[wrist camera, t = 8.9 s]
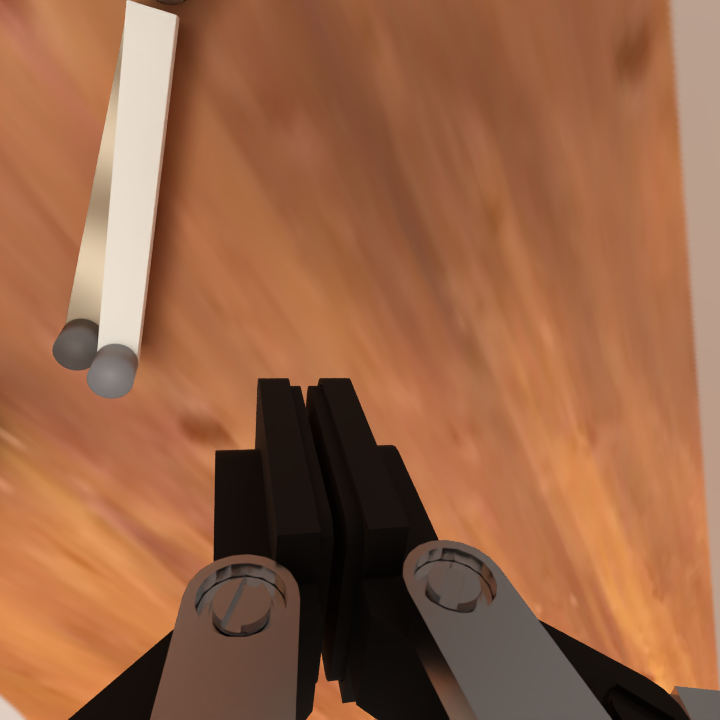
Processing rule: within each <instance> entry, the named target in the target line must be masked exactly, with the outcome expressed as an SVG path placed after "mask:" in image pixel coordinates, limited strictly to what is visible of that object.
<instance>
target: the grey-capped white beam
mask: <svg viewBox="0 0 720 720" xmlns="http://www.w3.org/2000/svg"><path fill="white" fill-rule="evenodd" d="M129 1H130V0H129ZM156 1H158V2H161V3H163V4H170V5H174V4H179V3H182V2H184V1H186V0H156ZM132 2H133V1H132ZM124 27H125V24H124ZM123 39H124V29H123V35H122V40H121V45H120V50H119V55H118V60H117V65H116V70H115V75H114V80H113V85H112V91H111V96H110V101H109V106H108V111H107V116H106V121H105V126H104V131H103V136H102V141H101V147H100V152H99V157H98V162H97V167H96V172H95V177H94V182H93V187H92V192H91V197H90V202H89V208H88V213H87V218H86V223H85V228H84V233H83V238H82V243H81V248H80V253H79V258H78V264H77V269H76V274H75V279H74V284H73V289H72V294H71V299H70V304H69V309H68V314H67V320H66V325H65V326H64V328H63V329H62V331H61V333H60V334H59V336H58V338H57V339H56V341H55V343H54V345H53V355H54V357H55V359H56V360H57V362H58V363H59V364H60V365H62V366H63V367H65V368H67V369H71V370H84V369H87V368H89V367H91V364H92V362H93V360H94V357H95V355H96V353H97V348H98V337H99V325H100V313H101V301H102V289H103V277H104V265H105V253H106V241H107V229H108V217H109V206H110V194H111V182H112V170H113V158H114V146H115V134H116V122H117V110H118V98H119V86H120V75H121V63H122V51H123Z"/></svg>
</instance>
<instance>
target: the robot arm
mask: <svg viewBox="0 0 720 720" xmlns="http://www.w3.org/2000/svg"><path fill="white" fill-rule="evenodd" d="M321 653H322V659H323V665H324V671H325V676H326V679H327V681H335V680H338V682H339V687H340V692H341V698H342V703H348V702H355V701H356V705H357V706H359V707H360V708H362V709H363V710H364V711H366V712H367V713H369V714H370V715H371V716H373V717H374V718H375V719H374V720H720V691H717V690H707V689H697V688H688V687H678V686H675V687H674V689H673V691H672V693H671V694H668V693H667V692H666V691H665V690H664V689H663V688H661V687H660V686H658V685H657V684H655V683H654V682H652V681H651V680H649V679H648V678H646V677H645V676H643V675H641V674H639V673H637V672H635V671H633V670H632V669H630V668H628V667H626V666H624V665H622V664H620V663H619V662H617V661H615V660H613V659H611V658H609V657H607V656H606V655H604V654H602V653H600V652H598V651H596V650H594V649H592V648H591V647H589V646H587V645H585V644H583V643H581V642H579V641H578V640H576V639H574V638H572V637H570V636H568V635H566V634H565V633H563V632H561V631H559V630H557V629H555V628H553V627H552V626H550V625H548V624H546V623H544V622H542V621H540V620H538V619H537V617H536V616H535V615H534V613H533V612H532V611H531V609H530V608H529V607H528V605H527V604H526V603H525V601H524V600H523V599H522V597H521V596H520V595H519V593H518V592H517V591H516V589H515V588H514V586H513V585H512V584H511V582H510V581H509V580H508V578H507V577H506V576H505V574H504V573H503V572H502V570H501V569H500V568H499V567H498V566H497V565H496V564H495V562H494V561H493V560H492V559H491V558H490V557H488V556H487V555H485V554H484V553H482V552H481V551H479V550H478V549H476V548H474V547H471V546H469V545H466V544H464V543H461V542H455V541H449V540H438V537H437V535H436V533H435V531H434V529H433V526H432V524H431V522H430V520H429V518H428V515H427V513H426V511H425V509H424V507H423V504H422V502H421V500H420V498H419V496H418V493H417V491H416V489H415V487H414V485H413V482H412V480H411V478H410V476H409V473H408V471H407V469H406V467H405V465H404V462H403V460H402V458H401V456H400V454H399V451H398V450H397V448H396V447H395V446H393V445H378V446H377V444H376V442H375V439H374V437H373V434H372V432H371V429H370V427H369V424H368V422H367V419H366V417H365V414H364V412H363V410H362V407H361V405H360V402H359V400H358V397H357V395H356V392H355V390H354V387H353V385H352V382H351V380H350V379H349V378H320V379H319V382H318V386H309V387H308V390H307V400H306V407H305V403H304V399H303V395H302V391H301V387H300V386H290V382H289V379H288V378H258V386H257V411H256V438H255V449H250V450H218V451H216V452H215V509H214V562H213V563H211V564H209V565H208V566H206V567H204V568H203V569H201V570H200V571H199V572H198V573H197V574H196V575H195V576H194V577H193V578H192V579H191V580H190V582H189V584H188V586H187V588H186V590H185V592H184V594H183V597H182V601H181V604H180V608H179V612H178V616H177V620H176V623H175V627H174V629H173V630H172V631H171V632H170V633H169V634H168V635H166V636H165V637H164V638H163V639H162V640H161V641H159V642H158V643H157V644H156V645H155V646H154V647H152V648H151V649H150V650H149V651H148V652H147V653H145V654H144V655H143V656H142V657H141V658H140V659H138V660H137V661H136V662H135V663H134V664H133V665H131V666H130V667H129V668H128V669H127V670H126V671H124V672H123V673H122V674H121V675H120V676H119V677H117V678H116V679H115V680H114V681H113V682H111V683H110V684H109V685H108V686H107V687H106V688H104V689H103V690H102V691H101V692H100V693H99V694H97V695H96V696H95V697H94V698H93V699H92V700H90V701H89V702H88V703H87V704H86V705H85V706H83V707H82V708H81V709H80V710H79V711H78V712H76V713H75V714H74V715H73V716H72V717H71V718H69V719H68V720H306V719H307V717H308V716H309V715H310V714H311V712H312V710H313V701H314V693H315V684H316V683H317V681H318V675H319V666H320V658H321Z"/></svg>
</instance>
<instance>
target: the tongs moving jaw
mask: <svg viewBox="0 0 720 720" xmlns="http://www.w3.org/2000/svg"><path fill="white" fill-rule="evenodd" d="M179 19H180V18H179V17H178V16H177V15H175V14H172V13H168V12H165V11H162V10H158V9H155V8H152V7H149V6H145V5H142V4H139V3H136V2H132V1H129V0H127V3H126V15H125V27H124V39H123V51H122V63H121V75H120V86H119V98H118V110H117V122H116V134H115V146H114V158H113V170H112V182H111V194H110V206H109V217H108V229H107V241H106V253H105V265H104V277H103V289H102V301H101V313H100V325H99V337H98V348H97V353H96V355H95V357H94V360H93V362H92V364H91V367H90V369H89V371H88V374H87V383H88V385H89V387H90V389H91V390H92V391H93V392H94V393H96V394H97V395H99V396H101V397H104V398H119V397H122V396H124V395H126V394H127V393H128V392H129V391H130V390H131V388H132V386H133V383H134V380H135V377H136V373H137V369H138V366H139V360H140V351H141V343H142V334H143V326H144V317H145V309H146V300H147V291H148V283H149V274H150V266H151V257H152V249H153V240H154V232H155V223H156V215H157V206H158V198H159V189H160V181H161V172H162V164H163V155H164V147H165V138H166V129H167V121H168V112H169V104H170V95H171V87H172V78H173V70H174V61H175V53H176V44H177V36H178V27H179Z"/></svg>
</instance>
